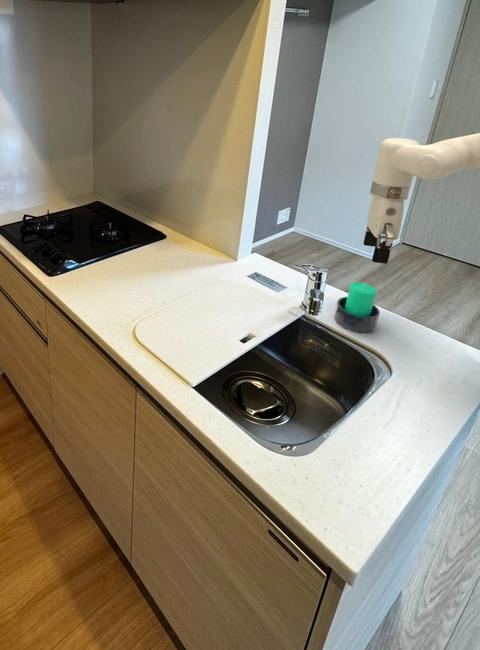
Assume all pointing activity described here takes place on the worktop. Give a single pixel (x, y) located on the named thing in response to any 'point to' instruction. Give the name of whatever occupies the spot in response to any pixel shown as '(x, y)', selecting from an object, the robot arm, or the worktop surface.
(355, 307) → the candle
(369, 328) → the bowl
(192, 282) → the worktop surface
